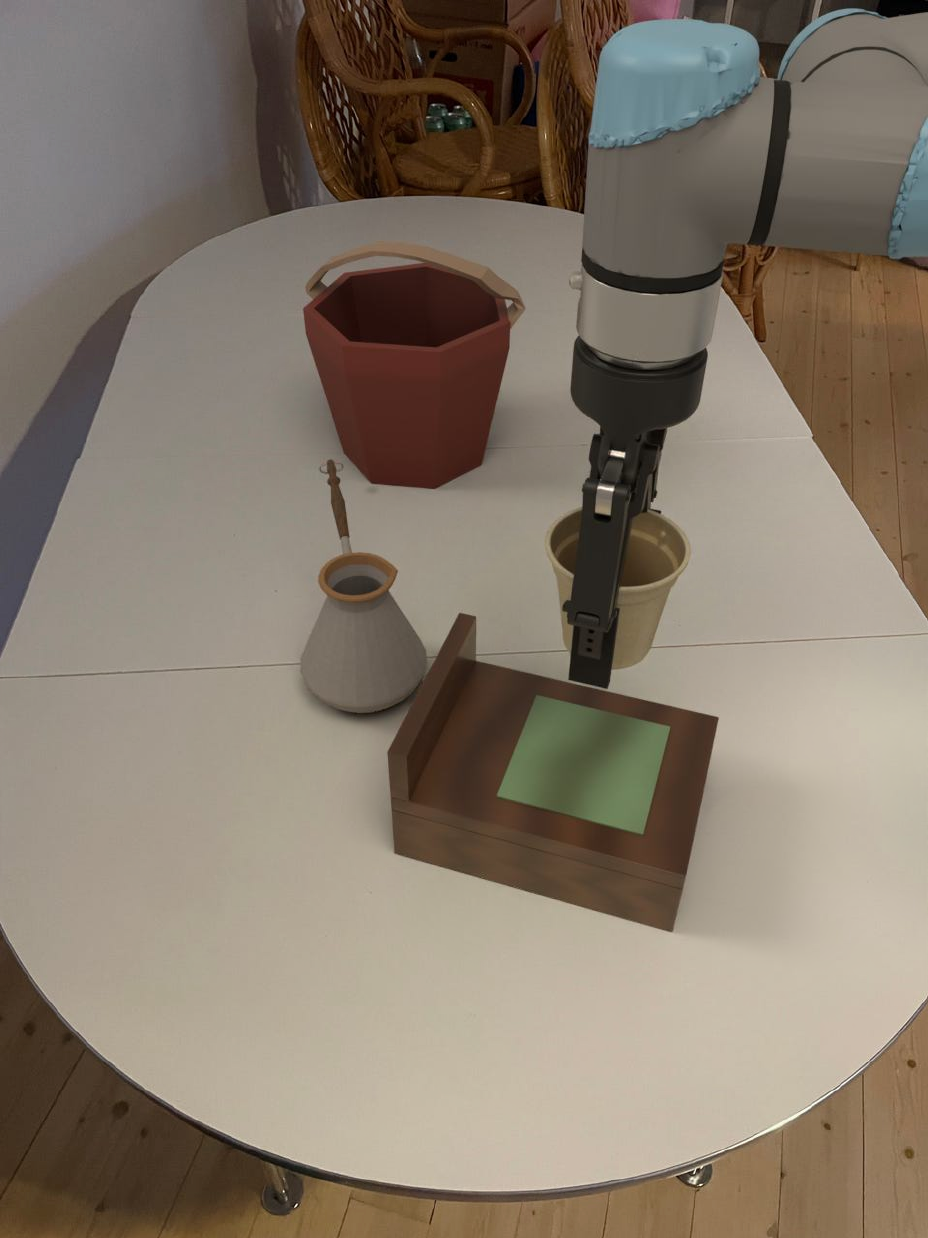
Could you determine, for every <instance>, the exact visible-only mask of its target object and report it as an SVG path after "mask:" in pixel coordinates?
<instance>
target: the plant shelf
mask: <svg viewBox="0 0 928 1238" xmlns="http://www.w3.org/2000/svg"><path fill="white" fill-rule="evenodd" d="M718 725H719V716H715V715H712V714H707V713H702V712H698V711H694V710H689V709H686V708H681V707H677V706H672V705H669V704H663V703H659V702H655V701H650V700H646V699H642V698H638V697H633V696H630V695H626V694H620V693H616V692H613V691H608V690H605V689H604V690H603V689H599V688H596V687H592V686H591V687H590V686H586V685H582V684H578V683H574V682H569V681H566V680H564V681H563V680H561V679H556V678H551V677H548V676H543V675H539V674H534V673H531V672H526V671H521V670H518V669H513V668H508V667H504V666H500V665H496V664H491V663H487V662H483V661H478V660H477V616H476V615H471V614H467V613H463V612H458V614H457V616H456V618H455V620H454V622H453V624H452V626H451V628H450V630H449V632H448V634H447V636H446V638H445V639H444V642H443V644H442V645H441V647H440V649H439V652H438V653H437V655H436V657H435V658H434V661H433V662H432V665H431V666H430V668H429V671H428V673H427V674H426V677H425V678H424V679H423V682H422V684H421V686H420V687H419V689H418V691H417V694H416V696H415V697H414V700H413V702H412V703H411V706H410V707H409V709H408V711H407V713H406V714H405V717H404V719H403V721H402V722H401V725H400V727H399V729H398V730H397V732H396V735H395V736H394V738H393V740H392V742H391V744H390V746H389V748H388V750H387V752H386V754H387V767H388V780H389V781H388V783H389V795H390V809H391V822H392V823H391V824H392V837H393V850H394V851H393V852H394V854H395V853H397V854H396V855H399V856H402V855H403V857H406V856H408V857H407V858H409V857H410V859H413V858H414V859H413V860H416V859H418V860H417V861H420V862H423V861H424V862H423V863H427V862H429V863H428V864H430V863H433V864H432V865H434V864H435V866H438V867H441V866H442V868H445V867H446V869H448V868H449V869H448V870H452V869H453V870H452V871H455V870H456V871H455V872H459V871H460V872H459V873H462V872H463V874H466V873H467V875H469V874H472V875H471V876H473V875H474V877H476V876H479V877H478V878H480V877H481V878H480V879H483V878H486V879H485V880H487V879H488V880H487V881H490V880H493V881H492V882H494V881H496V882H495V883H497V882H501V883H503V884H502V885H504V884H506V885H505V886H508V885H511V886H515V887H518V888H517V889H519V888H521V889H520V890H522V889H524V890H523V891H526V892H529V891H530V892H529V893H533V892H534V893H533V894H536V893H537V894H536V895H539V896H543V895H545V896H544V897H547V896H548V897H547V898H550V897H551V899H553V900H557V899H559V900H558V901H561V900H562V901H561V902H564V901H565V902H564V903H569V904H572V905H575V906H579V907H582V908H585V907H586V909H589V910H592V911H597V912H600V913H603V914H607V915H610V916H614V917H617V918H621V919H624V920H628V921H632V922H635V923H639V924H641V925H645V926H649V927H653V928H656V929H660V930H664V931H667V932H670V933H673V932H674V929H675V923H676V920H677V915H678V912H679V908H680V903H681V899H682V895H683V890H684V886H685V883H686V878H687V873H688V869H689V864H690V859H691V854H692V850H693V845H694V840H695V835H696V829H697V826H698V821H699V815H700V811H701V806H702V802H703V798H704V797H703V796H704V792H705V787H706V782H707V777H708V773H709V767H710V762H711V758H712V752H713V748H714V743H715V740H716V733H717V729H718ZM404 855H405V856H404ZM421 860H422V861H421ZM482 877H483V878H482ZM501 883H500V884H501ZM511 886H510V887H511ZM515 887H514V888H515Z"/></svg>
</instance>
